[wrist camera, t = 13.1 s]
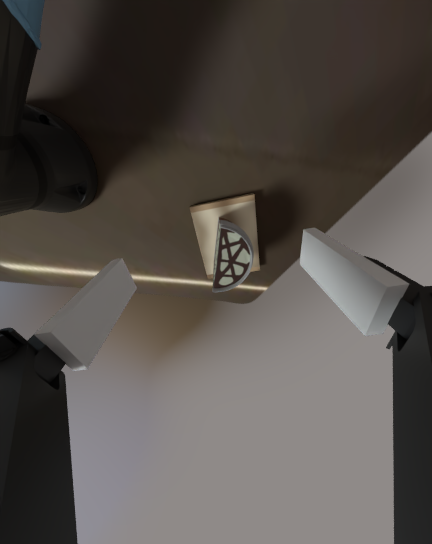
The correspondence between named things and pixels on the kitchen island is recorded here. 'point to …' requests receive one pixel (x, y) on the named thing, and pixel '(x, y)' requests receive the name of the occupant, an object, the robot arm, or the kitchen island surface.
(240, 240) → the food container
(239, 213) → the board
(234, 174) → the kitchen island surface
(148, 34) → the kitchen island surface
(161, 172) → the kitchen island surface
